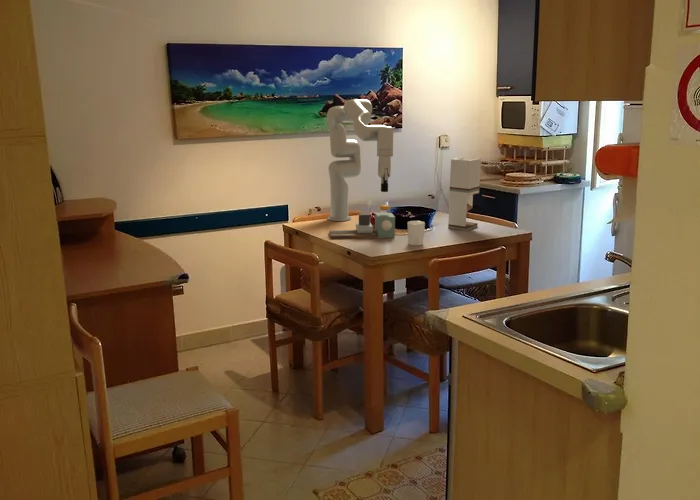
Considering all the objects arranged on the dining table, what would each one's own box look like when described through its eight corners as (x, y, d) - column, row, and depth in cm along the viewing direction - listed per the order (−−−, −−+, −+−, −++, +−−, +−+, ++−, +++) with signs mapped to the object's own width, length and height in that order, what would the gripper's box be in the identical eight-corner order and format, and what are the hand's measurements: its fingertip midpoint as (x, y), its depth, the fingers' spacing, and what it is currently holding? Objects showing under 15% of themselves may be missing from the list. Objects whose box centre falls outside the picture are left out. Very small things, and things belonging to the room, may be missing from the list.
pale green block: (374, 232, 325) (375, 212, 323) (390, 232, 326) (391, 212, 323) (378, 238, 314) (378, 217, 312) (394, 237, 315) (395, 217, 312)
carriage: (355, 230, 323) (356, 212, 321) (370, 229, 323) (370, 212, 321) (357, 234, 314) (358, 216, 312) (372, 233, 315) (372, 216, 313)
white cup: (410, 246, 298) (411, 224, 296) (404, 242, 306) (405, 221, 303) (426, 245, 300) (427, 223, 298) (420, 241, 308) (421, 220, 305)
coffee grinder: (466, 230, 330) (470, 160, 322) (448, 228, 337) (451, 159, 328) (477, 227, 339) (480, 158, 331) (458, 224, 345) (461, 157, 337)
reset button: (379, 208, 319) (379, 204, 319) (389, 208, 320) (389, 204, 319) (380, 210, 314) (380, 206, 314) (391, 210, 315) (391, 206, 315)
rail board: (329, 233, 323) (329, 228, 323) (373, 232, 326) (373, 227, 325) (330, 238, 312) (330, 233, 311) (377, 238, 314) (377, 232, 313)
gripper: (375, 151, 317) (374, 189, 322) (379, 154, 303) (378, 194, 307) (390, 151, 318) (389, 189, 322) (395, 154, 304) (394, 194, 308)
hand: (384, 191), depth 315 cm, fingers closed
